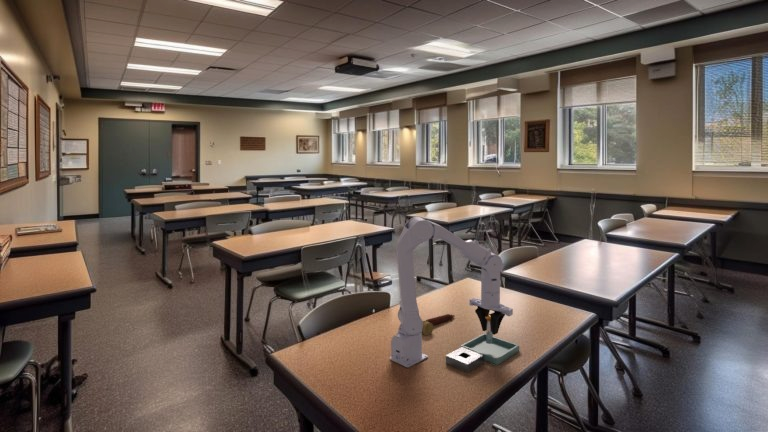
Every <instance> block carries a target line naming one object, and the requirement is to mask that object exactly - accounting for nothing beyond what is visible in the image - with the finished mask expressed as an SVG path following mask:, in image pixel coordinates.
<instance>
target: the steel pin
mask: <svg viewBox="0 0 768 432" xmlns="http://www.w3.org/2000/svg"><path fill="white" fill-rule="evenodd" d="M490 314H491V313H489V314H485V319H487V326H486V331H485V334H486V343H488V344H492V338H493V337H494V334H492V320H491V316H490Z"/></svg>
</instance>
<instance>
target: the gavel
mask: <svg viewBox="0 0 768 432" xmlns="http://www.w3.org/2000/svg"><path fill="white" fill-rule="evenodd" d="M453 318H455V314H450V313H446V314H444V315H443V314H442V315H439V316H435V317H432V318H429V319H428V318H427V319H426V320H422V321H423V327H422V335H424V336H429V335H431V334H432V333H433V331H434V326H435V325H439V324H443V323H446V322H448V321H451V320H453Z"/></svg>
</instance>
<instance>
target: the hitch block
mask: <svg viewBox="0 0 768 432" xmlns="http://www.w3.org/2000/svg"><path fill="white" fill-rule="evenodd" d="M484 363H485V361H484V355H482V354H479V353H476V352H474V351H471V350H468V349H466V348H463V347H461V348H460V347H458V349H455V350H454V351H451V352H449V353H448V354H445V364H447V365H449V366H452V367H454V368H456V369H459V370H461V371H463V372H465V373H470V372H472V371H473V370H475V369H476V368H478V367H479V366H482V365H483V364H484Z"/></svg>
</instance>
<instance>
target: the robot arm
mask: <svg viewBox="0 0 768 432" xmlns="http://www.w3.org/2000/svg"><path fill="white" fill-rule="evenodd" d="M431 239H432V240H434V241H435V240H439V239H440V240H441V241H444V242H446V243H447V244H449V245H451V246H453V247H455V248H456V249H457V250H459V252H460V255H461V256H462V257H464V259H467V260H469V261H471V262H472V263H473V264H475V265H477V266H479V267H480V268H481V275H480V276H481V277H480V278H481V279H480V282H481V284H480V285H481V286H480V289H481V290H480V299H479V298H474V297H473V298H470V299H469V306H472V307H473V306H474V307H477V308H476V309H474V310H475V311H474V313H476V314H475V315H476V316H477V318H478V320H479V322H480V326H481V331H482V332H486V326H487V319H485V314H490V316H491V320H492V334H493V336H494V335H496V334H498V333H499V329H500V326H501V323H502V322H503V319H504V318H505V316H506V317H512V315H513V314H514V308H511V307H509V306H507V305H504V304H502V303H501V301H500V300H501V271H502V270H503V269H504V265H505V264H504V262H503V259H502V257H501V256H499V255H498V254H496V253H494V252H492V249H490V248H489V247H487V248H486V247H484V246H482V245H481V244H480V242H479V241H478V240H476V239H467V240H464V239H462V238H461V237H459V236H458V235H456V234H455V233H453V232H451V231H450V230H448V229H447V228H445V227H443V226H442V225H440V224H438V223H436V222H433V221H431V220H428V219H425V218H423V217H422V216H417V215H416V216H413V217H411V218H410V219H408V220H407V222H406V223H404V226H403V228H402V231H401V232H400V234H399V237H398V239H397V241H396V244H395V248H396V261H397V270H398V271H397V275H398V284H399V285H398V287H399V294H400V295H399V298H400V300H399V310H398V311H397V318H398V321H399V322H400V324H399V326H398V330H397V333H396V334H395V335H394V336H392V338H391V341H390V352H391V353H390V354H391V355H390V356H389V360H391V361H393V362H394V363H396V364H398V365H401V366H404V367H405V368H410V367H412V366H414V365H416V364H417V363H420V362H421V361H423V360H425V359H428V357H429V355H427V354H425V353H423V334H422V327H423V321H424V320H423V319H422V318H421V316H420V310H419V305H418V302H417V292H416V291H417V290H416V289H417V288H416V276H415V264H414V255H413V252H414V251H415V249H416V248H417V247H419V245H421V244H423V243H426V242H427V241H429V240H431ZM490 311H492V312H491V313H490Z"/></svg>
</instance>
